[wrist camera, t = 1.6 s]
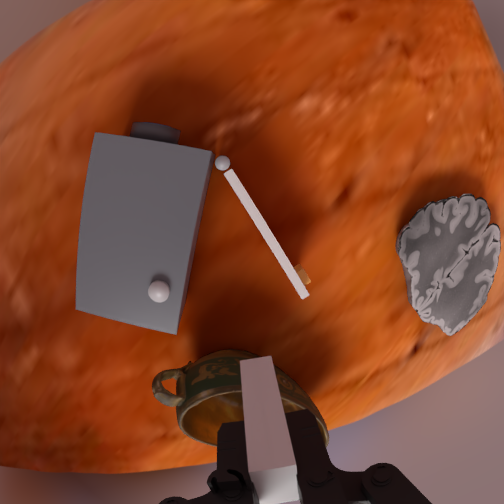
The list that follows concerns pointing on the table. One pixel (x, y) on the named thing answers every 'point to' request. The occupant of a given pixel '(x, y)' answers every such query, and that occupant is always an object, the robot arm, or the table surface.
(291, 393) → the cup
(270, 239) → the door
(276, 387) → the robot arm
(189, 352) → the table surface
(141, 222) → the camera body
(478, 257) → the brain slice
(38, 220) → the table surface
